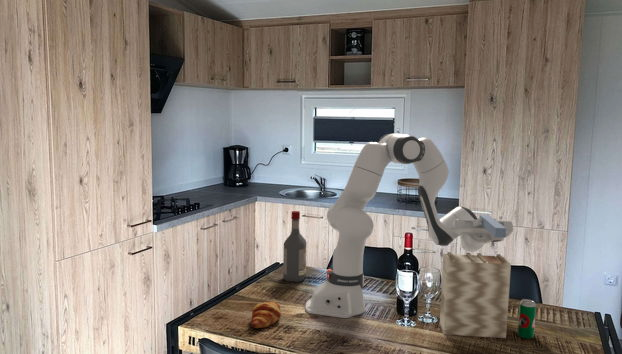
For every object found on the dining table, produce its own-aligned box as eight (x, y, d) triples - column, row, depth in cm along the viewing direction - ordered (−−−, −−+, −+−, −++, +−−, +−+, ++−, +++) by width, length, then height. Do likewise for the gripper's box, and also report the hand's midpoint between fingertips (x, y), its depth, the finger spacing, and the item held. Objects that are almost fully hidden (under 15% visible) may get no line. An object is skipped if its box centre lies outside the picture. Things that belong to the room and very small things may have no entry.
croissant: (270, 317, 187) (261, 297, 187) (293, 308, 184) (283, 288, 184) (247, 339, 167) (237, 317, 167) (272, 329, 164) (262, 307, 164)
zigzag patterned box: (443, 334, 167) (447, 258, 164) (439, 323, 175) (443, 251, 172) (505, 338, 165) (511, 261, 162) (498, 326, 173) (503, 254, 170)
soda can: (535, 340, 163) (538, 304, 162) (519, 338, 164) (521, 303, 163) (531, 333, 168) (534, 299, 167) (515, 332, 169) (518, 298, 168)
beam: (495, 237, 157) (495, 227, 157) (479, 222, 179) (479, 214, 179) (505, 237, 157) (506, 228, 157) (488, 223, 179) (488, 214, 178)
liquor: (282, 281, 217) (283, 213, 214) (286, 274, 226) (287, 209, 223) (302, 282, 216) (304, 214, 212) (306, 276, 225) (307, 210, 221)
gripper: (449, 223, 188) (456, 210, 176) (505, 225, 186) (516, 212, 174) (450, 239, 186) (457, 228, 173) (507, 241, 184) (518, 230, 171)
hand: (487, 220), depth 173 cm, fingers closed on beam, 3 cm apart
